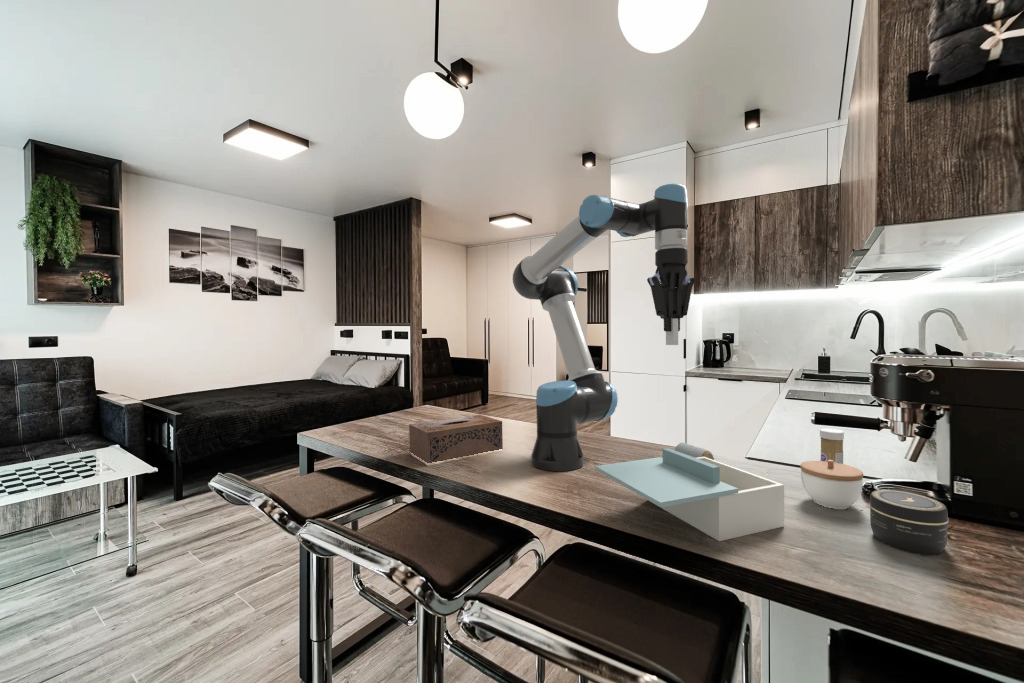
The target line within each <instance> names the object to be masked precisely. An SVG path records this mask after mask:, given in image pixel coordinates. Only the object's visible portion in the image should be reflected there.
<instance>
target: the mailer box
mask: <svg viewBox="0 0 1024 683" xmlns="http://www.w3.org/2000/svg"><path fill="white" fill-rule="evenodd" d="M697 459H700V460H702V461H705V462H708V463H711V464H713V465H716V466H719V467H720V481H721V482H723V483H726V484H728V485H731V486H733V487H736V488H738V493H735V494H730V495H725V496H719V497H714V498H708V499H703V500H698V501H692V502H687V503H681V504H676V505H670V506H665V507H660V509H662V510H664V511H666V512H668V513H670V514H671V515H672V516H675V517H676V518H678V519H679V520H681V521H683V522H685V523H686V524H688V525H690V526H692V527H693V528H696V529H697V530H699V531H701V532H702V533H704V534H706V535H707V536H709V537H711V538H713V539H714V540H717V541H718V542H723V541H726V540H732V539H736V538H739V537H740V538H741V537H745V536H748V535H749V536H750V535H752V534H756V533H761V532H765V531H771V530H774V529H778V528H783V527H785V484H783V483H780V482H778V481H775V480H772V479H769V478H767V477H764V476H760V475H758V474H755V473H752V472H749V471H746V470H744V469H740V468H738V467H735V466H732V465H728V464H726V463H724V462H720V461H718V460H715V459H714V460H712V459H710V458H707V457H697ZM647 501H649V500H647ZM649 502H650V501H649ZM654 505H655V506H657V505H656V504H654Z"/></svg>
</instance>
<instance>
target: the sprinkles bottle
mask: <svg viewBox="0 0 1024 683" xmlns="http://www.w3.org/2000/svg"><path fill="white" fill-rule="evenodd" d="M819 437H820V460H819V461H827V462H828V460H833V461H834V463H840V464H844V440H845V433H844V431H843V430H841V429H835V428H826V427H825V428H821V429H820V430H819Z"/></svg>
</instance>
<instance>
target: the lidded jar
mask: <svg viewBox="0 0 1024 683" xmlns="http://www.w3.org/2000/svg"><path fill="white" fill-rule="evenodd" d="M799 466H800V475H801V482H802V485H803V488H804V491H805V492H806V493H807V495H808V497H810V498H811V499H812V501H813V503H815V502H816V503H817V505H818V504H819V506H820V505H822V506H821V507H823V506H824V507H823V508H827V507H828V508H827V509H831V508H833V510H847V508H848V509H850V507H851V506H853V505H854V504H855V503H857V501H859V499H860V497H861V494H862V491H863V478H864V472H863V471H862V470H860V469H859V468H857V467H855V466H850V465H847V464H844V463H843V464H840V463H834V461H833V460H828V462H827V461H820V460H807V461H806V460H805V461H803V462H801V463H800V465H799ZM816 503H815V504H816Z"/></svg>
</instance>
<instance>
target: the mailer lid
mask: <svg viewBox="0 0 1024 683" xmlns="http://www.w3.org/2000/svg"><path fill="white" fill-rule="evenodd" d="M594 470H595V471H597V472H598V473H601V474H602V475H604V477H608V478H609V479H611V480H612V481H614V482H616V483H617V484H620V486H622V487H625V488H627V489H628V490H630V491H632V492H633V493H635V494H636V495H639V496H640V497H642V498H644V499H645V500H647V501H648V500H649V503H652V504H654V505H655V504H656V505H655V506H657V507H659V508H661V507H665V506H670V505H676V504H681V503H687V502H692V501H698V500H703V499H708V498H714V497H719V496H725V495H730V494H735V493H738V488H736V487H733V486H731V485H728V484H726V483H723V482H721V481H720V467H719V466H716V465H713V464H711V463H708V462H705V461H702V460H700V459H697V458H694V457H691V456H689V455H686V454H683V453H681V452H678V451H675V449H672V448H670V447H668V448H667V447H666V448H662V456H659V457H652V458H645V459H637V460H636V459H635V460H628V461H622V462H615V463H608V464H601V465H595V466H594Z"/></svg>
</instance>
